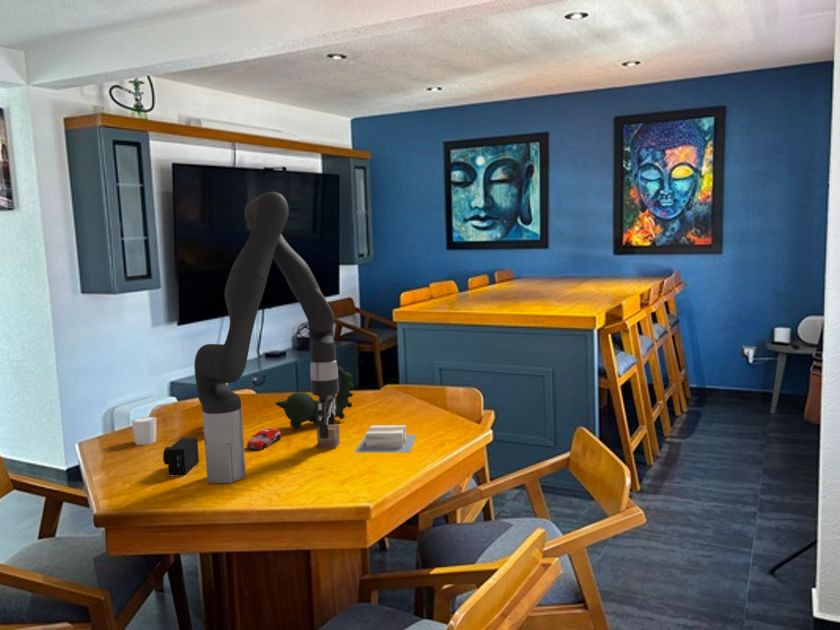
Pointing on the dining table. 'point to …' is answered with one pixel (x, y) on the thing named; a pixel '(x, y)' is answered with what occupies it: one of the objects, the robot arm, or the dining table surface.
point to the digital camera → (181, 456)
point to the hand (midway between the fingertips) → (327, 433)
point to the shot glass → (144, 430)
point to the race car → (264, 438)
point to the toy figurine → (303, 405)
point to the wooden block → (386, 436)
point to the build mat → (406, 448)
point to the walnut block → (329, 438)
